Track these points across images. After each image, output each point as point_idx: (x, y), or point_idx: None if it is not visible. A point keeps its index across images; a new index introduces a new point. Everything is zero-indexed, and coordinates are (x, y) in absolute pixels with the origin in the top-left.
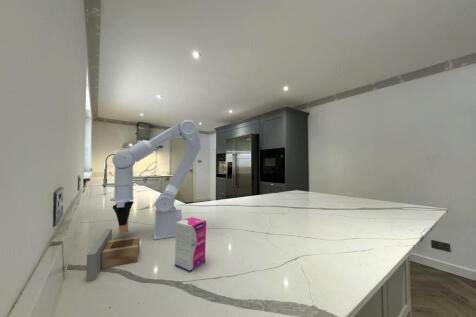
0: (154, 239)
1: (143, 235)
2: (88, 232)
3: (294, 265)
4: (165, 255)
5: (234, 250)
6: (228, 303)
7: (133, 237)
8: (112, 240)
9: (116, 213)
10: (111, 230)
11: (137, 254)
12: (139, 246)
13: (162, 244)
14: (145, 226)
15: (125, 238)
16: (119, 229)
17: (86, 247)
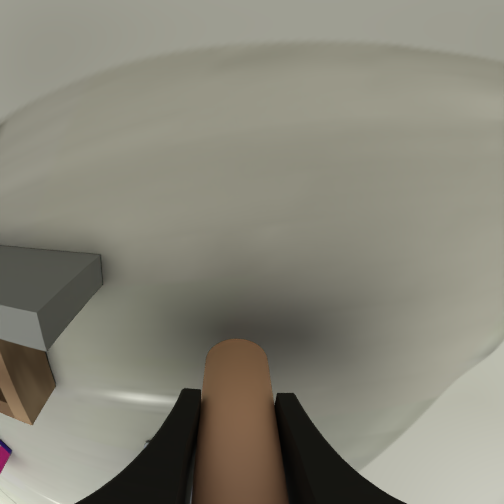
0: (145, 443)
1: None
2: (483, 119)
3: (5, 497)
4: (17, 423)
5: (45, 499)
6: None
7: (19, 405)
8: None
9: (120, 475)
10: (36, 343)
11: None
12: (48, 394)
13: (94, 445)
14: (391, 411)
15: (9, 378)
16: (216, 362)
17: (178, 133)
